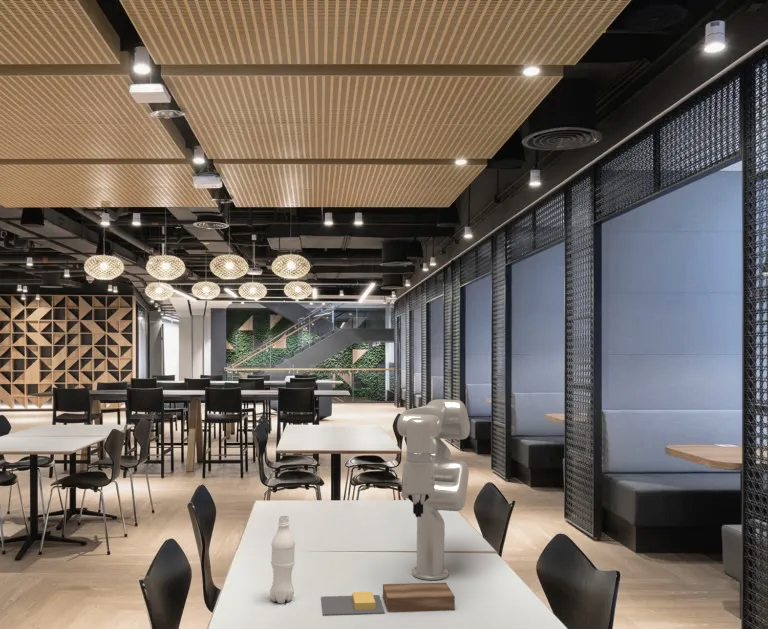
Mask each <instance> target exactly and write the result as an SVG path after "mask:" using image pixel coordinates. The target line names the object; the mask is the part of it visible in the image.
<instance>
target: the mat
mask: <svg viewBox="0 0 768 629" xmlns="http://www.w3.org/2000/svg"><path fill="white" fill-rule="evenodd" d="M373 597H374V600H375V609H374V610H355V608H354V604H353V600H352V595H333V596H332V595H330V596H328V595H326V596H321V597H320V600H321V611H322V612H321V613H322V616H323V617H325V616H326V617H327V616H330V617H331V616H353V615H354V616H357V615H361V616H362V615H385V614H386V612H385V609H384V606H383V602H382V599H381V596H380V594H373Z"/></svg>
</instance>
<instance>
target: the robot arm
mask: <svg viewBox="0 0 768 629" xmlns="http://www.w3.org/2000/svg"><path fill="white" fill-rule="evenodd" d="M467 410H468V409H467V407H466V405H465V403H464V402H463V401H461V400H459V399H444V398H441V399H440V398H437V399H433V400H430V401H429V402H428V403H427V404H426V405H423V406H418V407H413V408H409V409H406V410H404V411H403V412H401V414H400V415H399V416H398V419H397V424H396V429H397V432H398V434H399V435H400V436H401V437H403V438H404V437H405V438H406V460H404V461H403V464H402V471H401V472H402V474H401V493H400V494H401V495H400V496H401V497H402V498H404V499H408V500H410V502H411V503H412V514H414V516H415V518H416V566H415V567H413V568H412V569H411V574H412V576H413V577H415V578H417V579H421V580H426V581H436V580H437V581H440V580H443V579H447V578H448V577H449V570H448V569H447V568H446V567H445V531H446V530H445V528H446V527H445V521H444V518H443V516H442V514H441V513H440V512H439V511H447V512H460V511H462V510H463V509H464V507H465V504H466V499H467V492H468V491H467V490H468V485H469V484H468V483H469V466H468V464H467V462H465V461H464V460H461V459H455V458H451V456H452V453H451V449H450V448H449V446H448V445H447V444H446V443H445V442H444V441H443V440H442V439H445V440H465V439H467V438H468V437H469V435H470V431H471V423H470V419H469V414H468V411H467Z"/></svg>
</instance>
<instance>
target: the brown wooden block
mask: <svg viewBox="0 0 768 629" xmlns="http://www.w3.org/2000/svg"><path fill="white" fill-rule="evenodd" d="M455 597H456V596H455V595H454V593H453V591H452V589H451V588H450V587H449V584H448V583H447V582H418V583H416V582H415V583H414V582H413V583H412V582H411V583H410V582H409V583H383V584H382V600H383V602H384V605H385V609H386V612H387V613H406V612H407V613H409V612H411V613H412V612H434V611H435V612H436V611H442V612H443V611H455V606H456V602H455V600H456V598H455Z"/></svg>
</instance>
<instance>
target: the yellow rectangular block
mask: <svg viewBox="0 0 768 629" xmlns="http://www.w3.org/2000/svg"><path fill="white" fill-rule="evenodd" d="M351 593H352V594H351V596H352V600H353V604H354V608H355V610H374V609H375V600H374V597H373V595H374V593H373V591H352V592H351Z"/></svg>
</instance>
